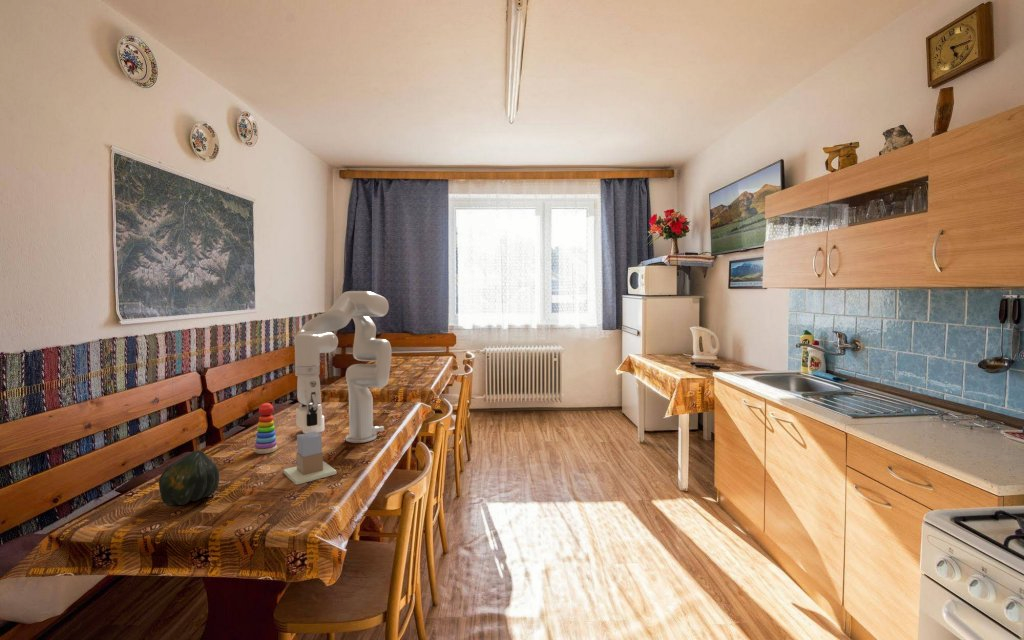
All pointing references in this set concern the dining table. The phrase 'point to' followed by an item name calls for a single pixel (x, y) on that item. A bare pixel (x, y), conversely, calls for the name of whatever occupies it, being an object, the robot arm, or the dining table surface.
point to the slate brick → (309, 444)
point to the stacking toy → (265, 431)
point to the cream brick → (302, 417)
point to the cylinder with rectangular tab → (319, 428)
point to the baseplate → (309, 476)
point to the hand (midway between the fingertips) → (308, 422)
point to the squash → (188, 479)
